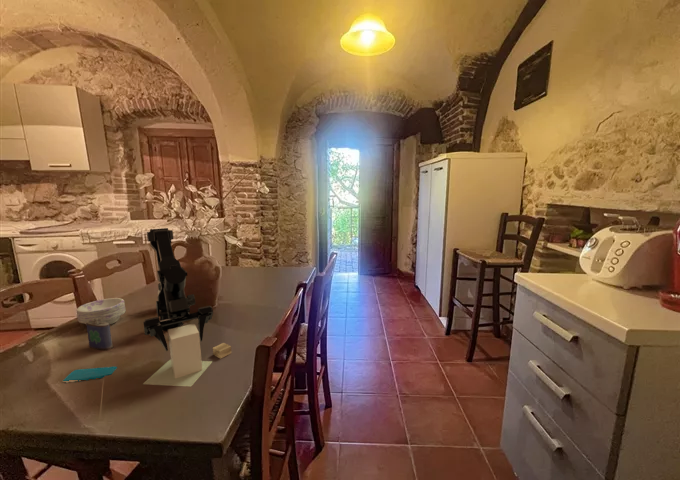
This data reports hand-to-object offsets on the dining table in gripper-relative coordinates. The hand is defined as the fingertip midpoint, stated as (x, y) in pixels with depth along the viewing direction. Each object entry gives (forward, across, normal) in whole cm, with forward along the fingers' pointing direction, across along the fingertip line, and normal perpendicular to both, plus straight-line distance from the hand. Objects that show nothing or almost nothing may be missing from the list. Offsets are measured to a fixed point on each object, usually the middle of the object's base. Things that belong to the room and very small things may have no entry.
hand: (184, 345), depth 90 cm
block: (+4, +11, +7) cm, 13 cm away
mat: (+6, -2, +5) cm, 8 cm away
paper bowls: (-33, -22, +44) cm, 60 cm away
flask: (-17, -22, +28) cm, 39 cm away
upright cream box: (+5, 0, +5) cm, 7 cm away
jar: (-34, +2, +44) cm, 56 cm away
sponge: (-3, -23, +15) cm, 28 cm away
